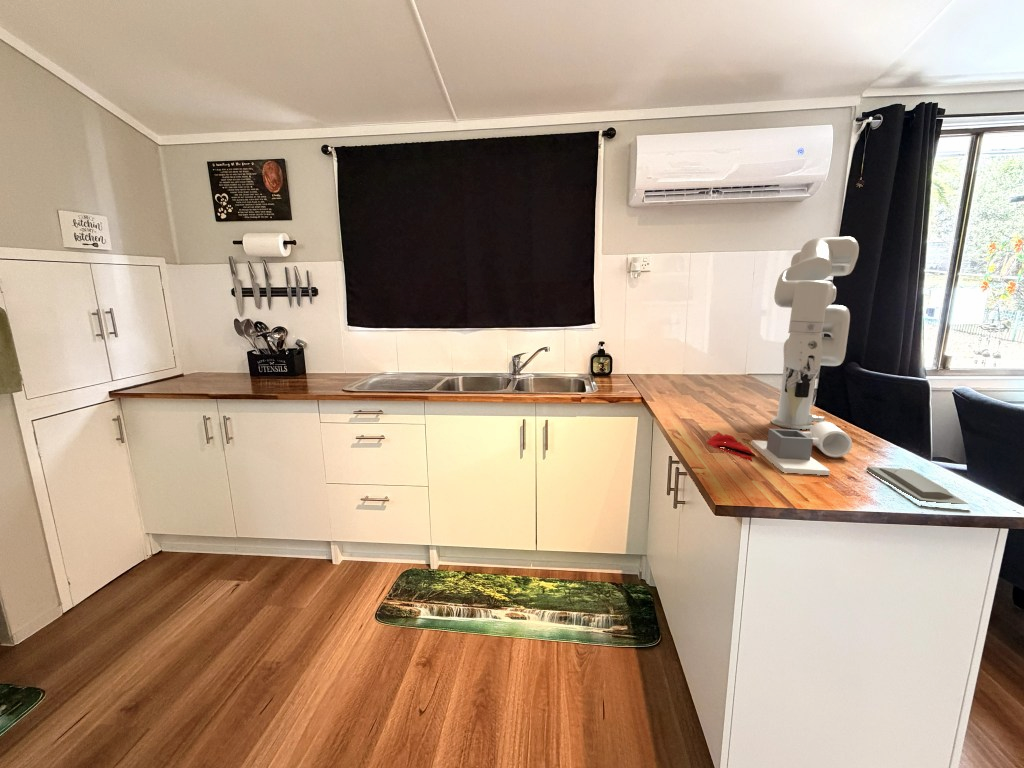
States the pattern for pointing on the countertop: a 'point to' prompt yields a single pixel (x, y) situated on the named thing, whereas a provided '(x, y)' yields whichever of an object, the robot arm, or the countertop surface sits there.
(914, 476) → the soap mold
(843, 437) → the mug
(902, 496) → the countertop surface
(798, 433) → the box socket base
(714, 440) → the red lips
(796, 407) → the ice cream cone
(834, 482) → the countertop surface
